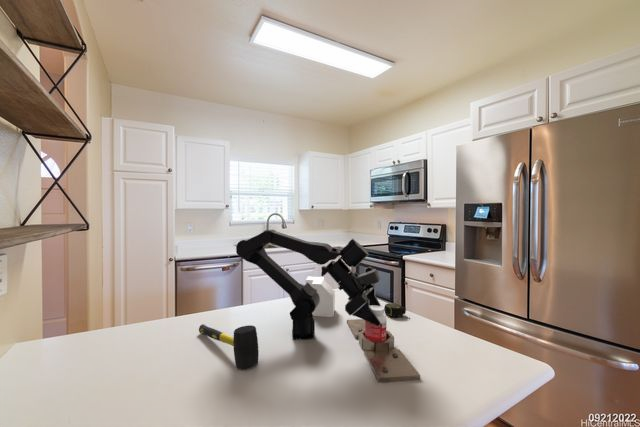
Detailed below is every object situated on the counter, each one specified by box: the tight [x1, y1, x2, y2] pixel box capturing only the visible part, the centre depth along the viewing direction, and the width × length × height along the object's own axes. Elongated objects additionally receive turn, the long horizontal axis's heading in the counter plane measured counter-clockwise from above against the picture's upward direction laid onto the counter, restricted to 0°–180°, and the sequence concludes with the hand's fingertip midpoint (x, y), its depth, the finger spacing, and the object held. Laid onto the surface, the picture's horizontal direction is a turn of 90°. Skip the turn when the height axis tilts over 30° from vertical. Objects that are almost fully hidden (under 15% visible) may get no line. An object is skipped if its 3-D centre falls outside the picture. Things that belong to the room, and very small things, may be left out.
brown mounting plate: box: [346, 318, 421, 383], centre depth 80 cm, size 34×10×3 cm, turn 7°
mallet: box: [198, 323, 260, 371], centre depth 77 cm, size 29×6×10 cm, turn 47°
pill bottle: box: [365, 305, 388, 341], centre depth 80 cm, size 6×6×11 cm
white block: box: [305, 276, 336, 318], centre depth 107 cm, size 11×11×12 cm
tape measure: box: [383, 302, 407, 318], centre depth 104 cm, size 7×7×4 cm
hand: (381, 318), depth 79 cm, fingers open, 9 cm apart
